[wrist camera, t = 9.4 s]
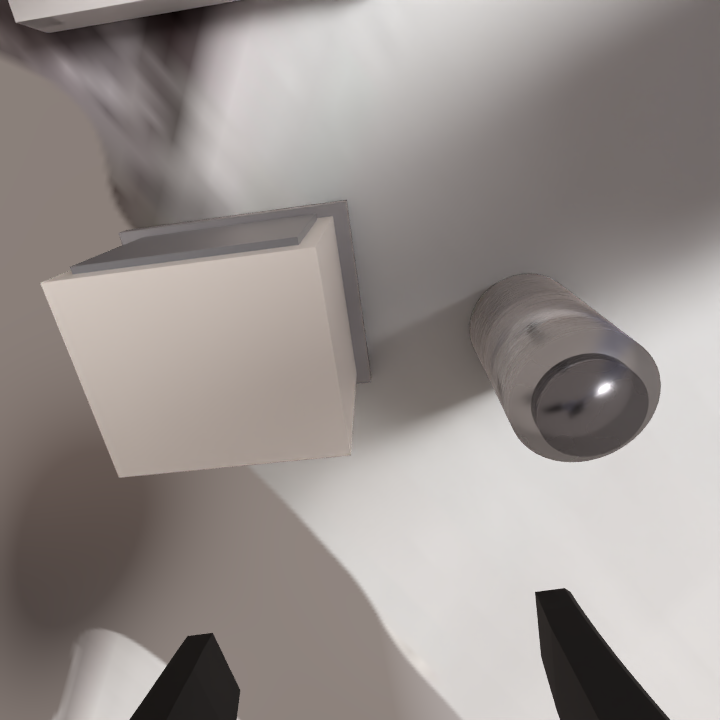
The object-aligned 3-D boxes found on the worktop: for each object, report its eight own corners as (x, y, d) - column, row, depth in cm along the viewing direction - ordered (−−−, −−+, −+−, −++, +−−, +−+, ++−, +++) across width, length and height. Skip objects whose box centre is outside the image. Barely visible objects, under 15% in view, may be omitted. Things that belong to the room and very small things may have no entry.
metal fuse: (578, 267, 18) (683, 331, 12) (573, 366, 19) (663, 467, 13) (467, 280, 18) (513, 349, 12) (471, 377, 20) (514, 481, 14)
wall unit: (346, 200, 17) (334, 227, 12) (370, 375, 20) (369, 464, 14) (126, 230, 18) (15, 269, 12) (179, 396, 20) (107, 489, 15)
